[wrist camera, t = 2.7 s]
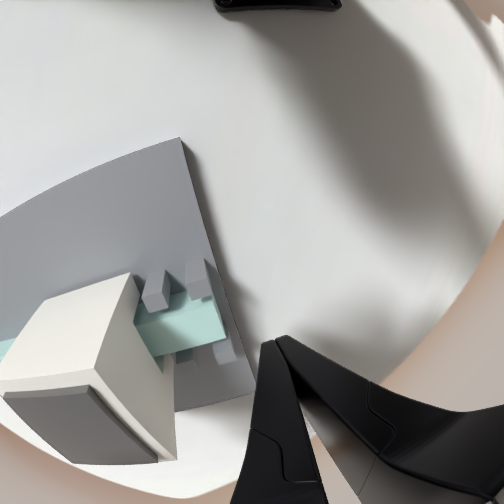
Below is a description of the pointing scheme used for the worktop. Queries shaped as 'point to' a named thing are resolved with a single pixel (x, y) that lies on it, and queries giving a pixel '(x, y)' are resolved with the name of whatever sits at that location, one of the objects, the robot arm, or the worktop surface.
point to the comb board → (130, 265)
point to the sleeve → (92, 379)
